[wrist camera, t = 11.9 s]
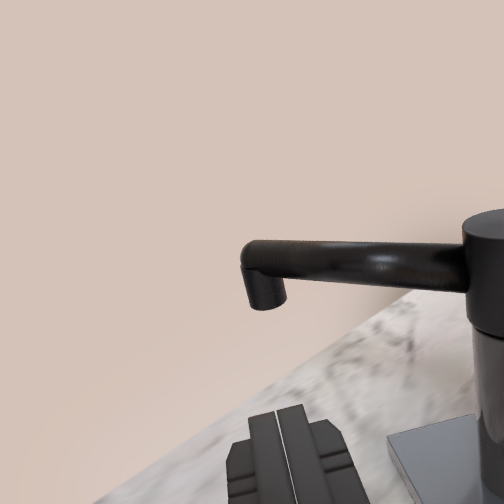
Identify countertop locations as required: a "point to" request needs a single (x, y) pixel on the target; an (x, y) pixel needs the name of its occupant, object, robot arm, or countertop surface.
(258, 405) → the countertop surface
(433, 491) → the faucet base
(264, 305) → the spout
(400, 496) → the countertop surface
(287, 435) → the robot arm
